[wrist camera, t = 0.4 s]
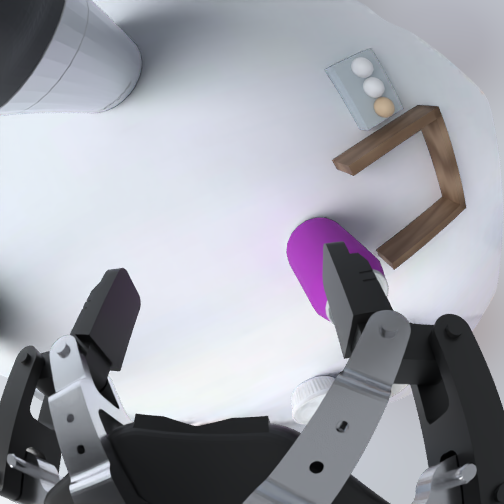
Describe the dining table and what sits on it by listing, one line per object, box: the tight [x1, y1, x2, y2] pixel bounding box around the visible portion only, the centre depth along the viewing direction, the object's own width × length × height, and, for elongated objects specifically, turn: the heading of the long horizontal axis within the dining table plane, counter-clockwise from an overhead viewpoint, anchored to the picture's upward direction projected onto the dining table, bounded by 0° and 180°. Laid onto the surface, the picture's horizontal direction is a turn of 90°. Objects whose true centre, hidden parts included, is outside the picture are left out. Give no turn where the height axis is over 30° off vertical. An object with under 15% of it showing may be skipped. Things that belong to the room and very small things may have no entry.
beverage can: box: [286, 218, 388, 325], centre depth 28 cm, size 8×8×12 cm
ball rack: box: [324, 48, 403, 130], centre depth 23 cm, size 8×6×4 cm
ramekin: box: [291, 376, 335, 425], centre depth 45 cm, size 11×11×5 cm
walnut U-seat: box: [332, 105, 466, 270], centre depth 29 cm, size 15×15×4 cm
